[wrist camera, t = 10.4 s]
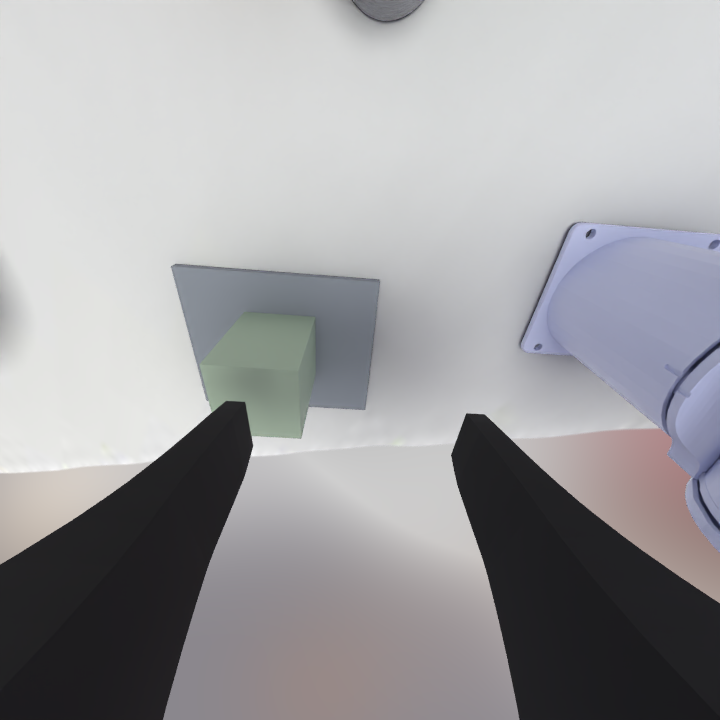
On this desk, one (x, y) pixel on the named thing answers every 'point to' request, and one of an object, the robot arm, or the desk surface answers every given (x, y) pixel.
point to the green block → (265, 371)
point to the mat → (289, 297)
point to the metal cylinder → (387, 8)
